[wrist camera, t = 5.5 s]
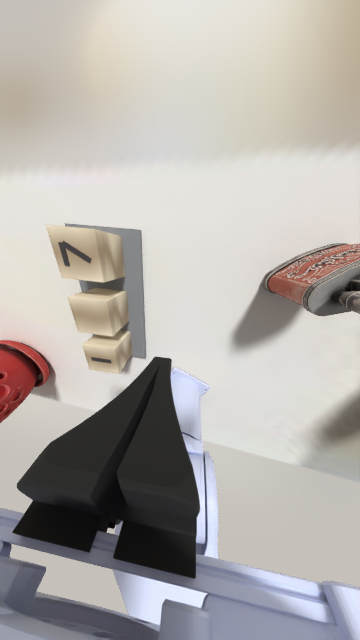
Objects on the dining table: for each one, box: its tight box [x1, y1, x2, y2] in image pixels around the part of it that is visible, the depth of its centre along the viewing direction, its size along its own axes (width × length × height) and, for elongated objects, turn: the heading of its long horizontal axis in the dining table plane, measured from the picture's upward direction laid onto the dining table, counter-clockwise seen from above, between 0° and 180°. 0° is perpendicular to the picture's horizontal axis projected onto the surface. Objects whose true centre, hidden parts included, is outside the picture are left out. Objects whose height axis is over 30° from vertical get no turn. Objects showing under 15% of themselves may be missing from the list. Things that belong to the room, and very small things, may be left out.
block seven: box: [46, 225, 125, 283], centre depth 14 cm, size 4×4×5 cm
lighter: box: [263, 243, 360, 316], centre depth 11 cm, size 8×3×10 cm, turn 117°
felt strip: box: [65, 224, 146, 358], centre depth 19 cm, size 19×9×1 cm, turn 175°
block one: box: [82, 330, 133, 374], centre depth 20 cm, size 4×4×5 cm
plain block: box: [68, 288, 129, 336], centre depth 17 cm, size 4×4×4 cm
